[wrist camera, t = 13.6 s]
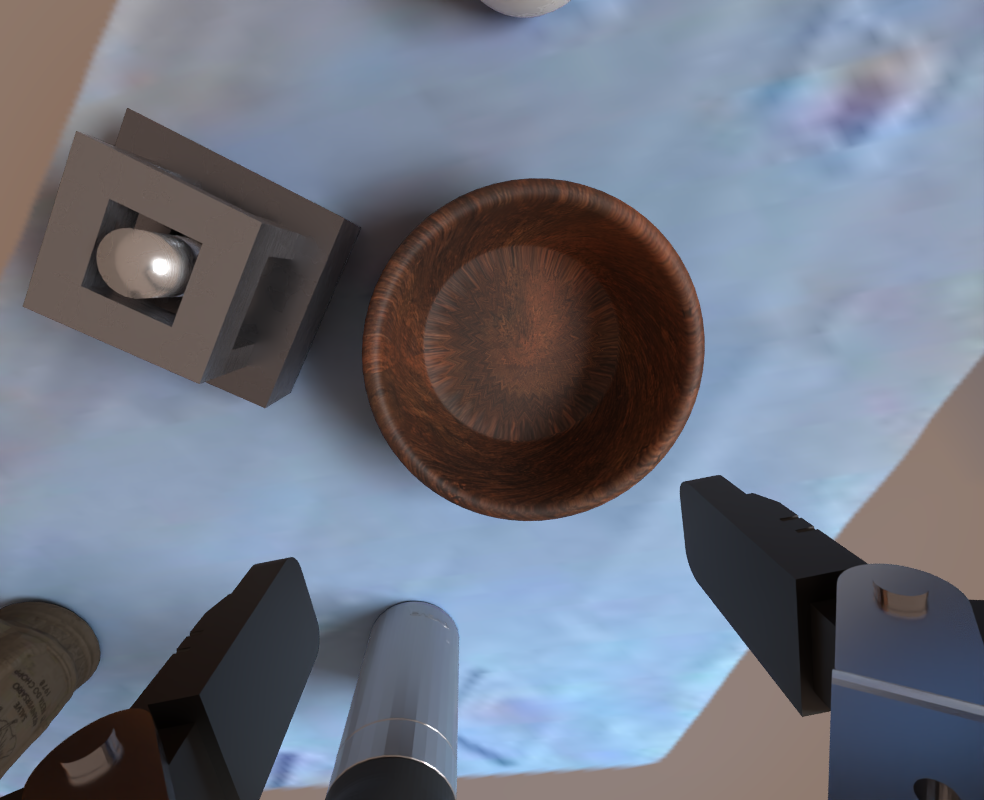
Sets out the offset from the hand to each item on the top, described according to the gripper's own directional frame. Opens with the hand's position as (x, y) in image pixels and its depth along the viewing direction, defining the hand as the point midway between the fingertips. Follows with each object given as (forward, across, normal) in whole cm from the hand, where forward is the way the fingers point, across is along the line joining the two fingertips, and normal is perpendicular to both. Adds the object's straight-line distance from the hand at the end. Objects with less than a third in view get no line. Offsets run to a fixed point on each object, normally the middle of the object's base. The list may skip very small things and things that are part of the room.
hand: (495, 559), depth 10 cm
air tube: (+36, +18, -10) cm, 42 cm away
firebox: (+36, +19, -10) cm, 42 cm away
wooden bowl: (+36, -4, +1) cm, 37 cm away
